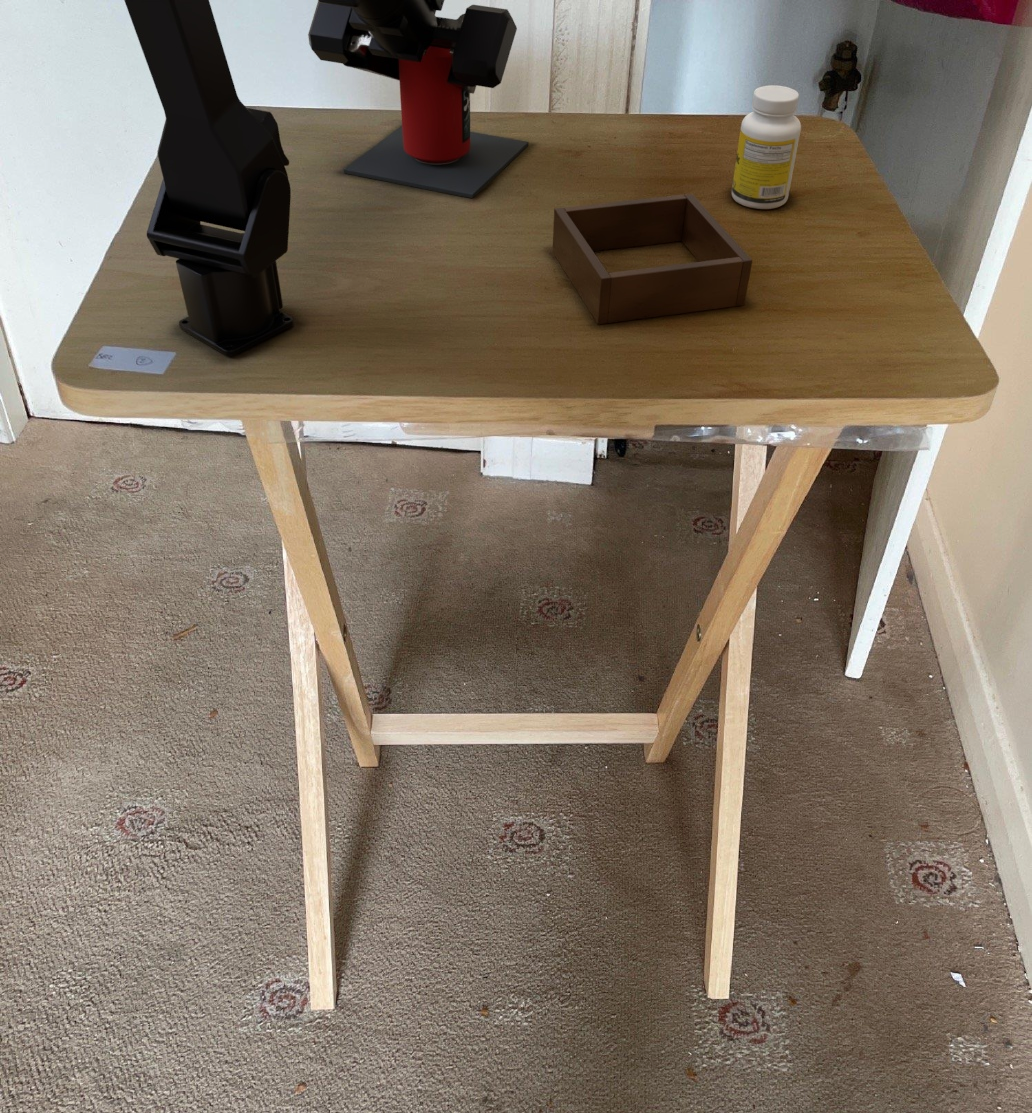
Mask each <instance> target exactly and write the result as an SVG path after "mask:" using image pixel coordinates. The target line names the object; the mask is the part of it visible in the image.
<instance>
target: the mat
mask: <svg viewBox="0 0 1032 1113" xmlns="http://www.w3.org/2000/svg"><path fill="white" fill-rule="evenodd" d="M528 146H529V141H526V140H520V139H514V138H510V137H509V138H508V137H503V136H497V135H492V134H486V133H482V132H481V133H480V132H475V131H470V150H469V152H468V153H467V154H465V155H464V156H462V157H461V158H460V159H459V160H457V161H455V162H452V163H449V164H442V165H432V164H425V163H422V162H419V161H417V160H416V159H415V158H413V157H411V156H410V155H408V154H407V153H406V152H405V150H404V145H403V130H402V125H401V126H399V127H398V128H396V129H395V130H394V131H392V132H391V133H390V134H388V135H387V136H386V137H384V138H382V140H380V141H379V142H378V143H377V144H375V145H373V146H372V147H371V148H369V149H368V150H367V151H366V152H364V153H363V154H362V155H360V156H359V157H357V159H355V160H353V161H352V162H351V163H350V164H348V165H347V166H346V167H345V168H343V169H342V170H343V171H342V172H343V174H345V175H352V176H357V177H362V178H367V179H372V180H377V181H382V182H387V183H392V184H398V185H403V186H407V187H413V188H417V189H423V190H428V191H433V192H437V193H441V194H442V193H443V194H447V195H453V196H457V197H462V198H469V199H474V198H475V197H476V196H477V195H478V194H479V193H480V192H481V191H482V190H483V189H484V188H486V186H488V184H490V183H491V182H492V181H493V180H494V179H495V178H496V177H497V176H498V175H499V174H500V173H501V172H502V171H503V170H504V169H505V168H506V167H507V166H508V165H509V164H510V163H512V162H513V161H514V160H515V159H516V158H517V157H518V156H519V155H521V153H522V152H523V151H524V150H526V149H527V147H528Z"/></svg>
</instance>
